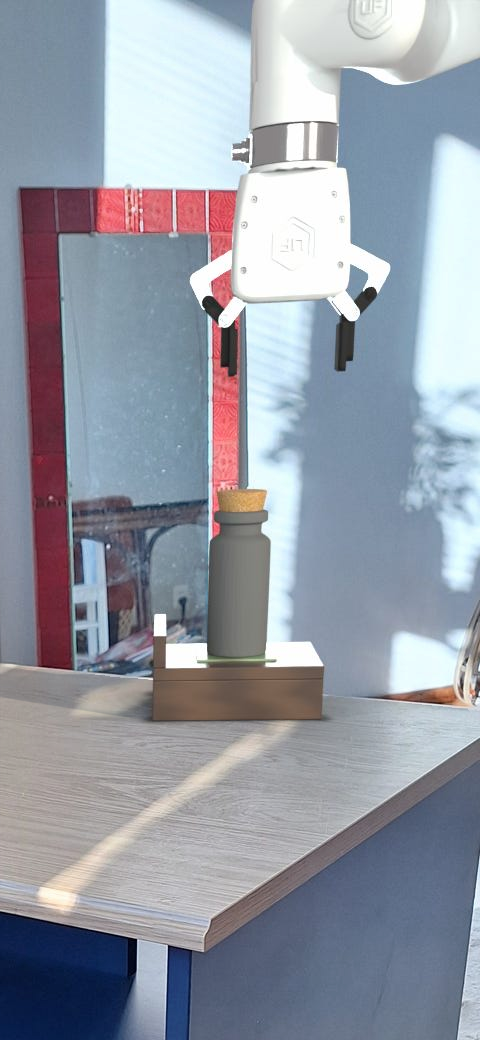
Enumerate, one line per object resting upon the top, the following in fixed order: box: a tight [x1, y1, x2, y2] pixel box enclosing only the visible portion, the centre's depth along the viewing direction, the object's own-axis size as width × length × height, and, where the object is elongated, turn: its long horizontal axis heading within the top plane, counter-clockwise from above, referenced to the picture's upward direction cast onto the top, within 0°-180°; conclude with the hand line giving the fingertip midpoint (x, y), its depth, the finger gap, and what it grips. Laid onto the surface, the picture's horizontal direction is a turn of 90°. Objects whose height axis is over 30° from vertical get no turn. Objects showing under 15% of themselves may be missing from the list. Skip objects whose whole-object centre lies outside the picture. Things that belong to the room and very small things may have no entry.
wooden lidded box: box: [152, 613, 325, 722], centre depth 145 cm, size 16×14×8 cm
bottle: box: [206, 488, 272, 657], centre depth 142 cm, size 6×6×15 cm
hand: (285, 373), depth 133 cm, fingers open, 9 cm apart
